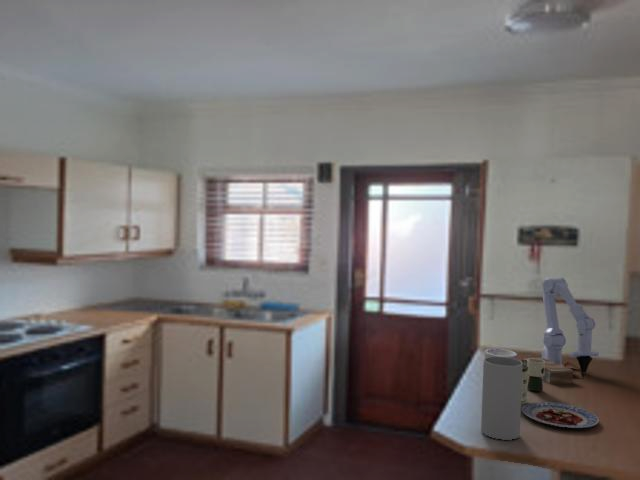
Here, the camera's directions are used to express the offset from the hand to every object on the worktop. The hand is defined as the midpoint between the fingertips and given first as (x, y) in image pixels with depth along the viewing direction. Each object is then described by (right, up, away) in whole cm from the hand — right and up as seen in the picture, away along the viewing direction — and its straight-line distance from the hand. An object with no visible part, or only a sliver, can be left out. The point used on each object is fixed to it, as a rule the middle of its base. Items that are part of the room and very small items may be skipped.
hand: (583, 371), depth 268 cm
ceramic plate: (-37, -4, -61) cm, 71 cm away
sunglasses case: (-4, -2, +1) cm, 5 cm away
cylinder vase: (-64, -4, -77) cm, 100 cm away
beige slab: (-20, -1, -5) cm, 20 cm away
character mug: (-33, -2, -27) cm, 43 cm away
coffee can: (-47, -2, -41) cm, 62 cm away
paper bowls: (-37, 0, +8) cm, 38 cm away
